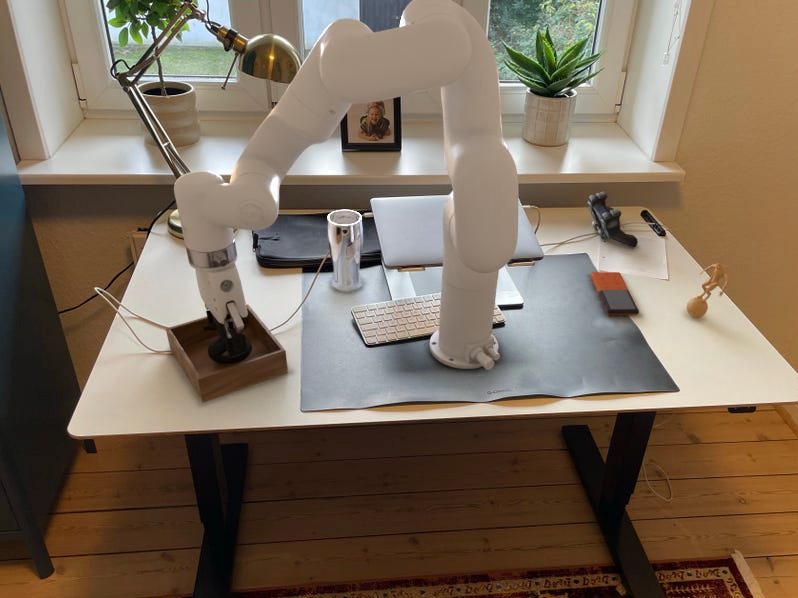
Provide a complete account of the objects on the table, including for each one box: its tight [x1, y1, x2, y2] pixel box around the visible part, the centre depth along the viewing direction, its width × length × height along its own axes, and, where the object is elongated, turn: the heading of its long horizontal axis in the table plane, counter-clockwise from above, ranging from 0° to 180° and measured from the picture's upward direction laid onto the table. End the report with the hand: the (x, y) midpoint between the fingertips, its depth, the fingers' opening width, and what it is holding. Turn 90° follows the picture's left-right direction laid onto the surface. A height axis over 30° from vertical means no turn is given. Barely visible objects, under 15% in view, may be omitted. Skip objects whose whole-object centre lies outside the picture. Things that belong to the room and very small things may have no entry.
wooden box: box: [165, 303, 289, 403], centre depth 129 cm, size 16×15×5 cm
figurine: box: [685, 262, 730, 318], centre depth 145 cm, size 8×6×12 cm
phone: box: [589, 271, 640, 316], centre depth 152 cm, size 6×1×15 cm
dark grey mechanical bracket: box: [586, 191, 639, 249], centre depth 172 cm, size 16×7×10 cm, turn 10°
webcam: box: [203, 314, 252, 364], centre depth 127 cm, size 8×8×10 cm
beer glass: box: [326, 209, 364, 293], centre depth 148 cm, size 7×7×15 cm
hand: (228, 339), depth 128 cm, fingers closed on webcam, 7 cm apart
